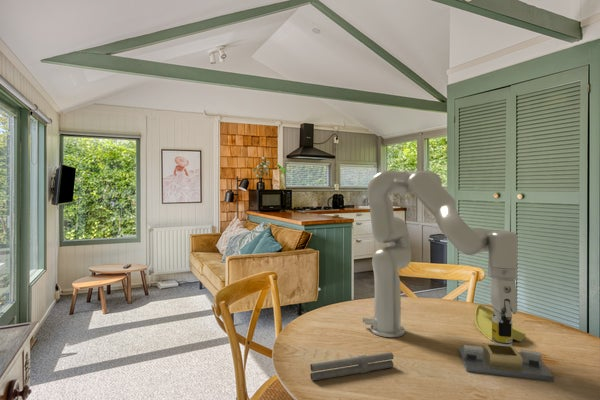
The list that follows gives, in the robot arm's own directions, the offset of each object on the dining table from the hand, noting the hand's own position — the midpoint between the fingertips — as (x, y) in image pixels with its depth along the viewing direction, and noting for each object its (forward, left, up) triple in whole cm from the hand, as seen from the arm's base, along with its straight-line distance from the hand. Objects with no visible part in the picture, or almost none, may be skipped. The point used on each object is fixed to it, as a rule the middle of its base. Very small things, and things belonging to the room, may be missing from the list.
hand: (501, 331), depth 108 cm
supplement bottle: (0, 0, -4) cm, 4 cm away
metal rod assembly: (-43, -16, -11) cm, 47 cm away
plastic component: (+6, +27, -11) cm, 30 cm away
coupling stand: (0, 0, -10) cm, 10 cm away
